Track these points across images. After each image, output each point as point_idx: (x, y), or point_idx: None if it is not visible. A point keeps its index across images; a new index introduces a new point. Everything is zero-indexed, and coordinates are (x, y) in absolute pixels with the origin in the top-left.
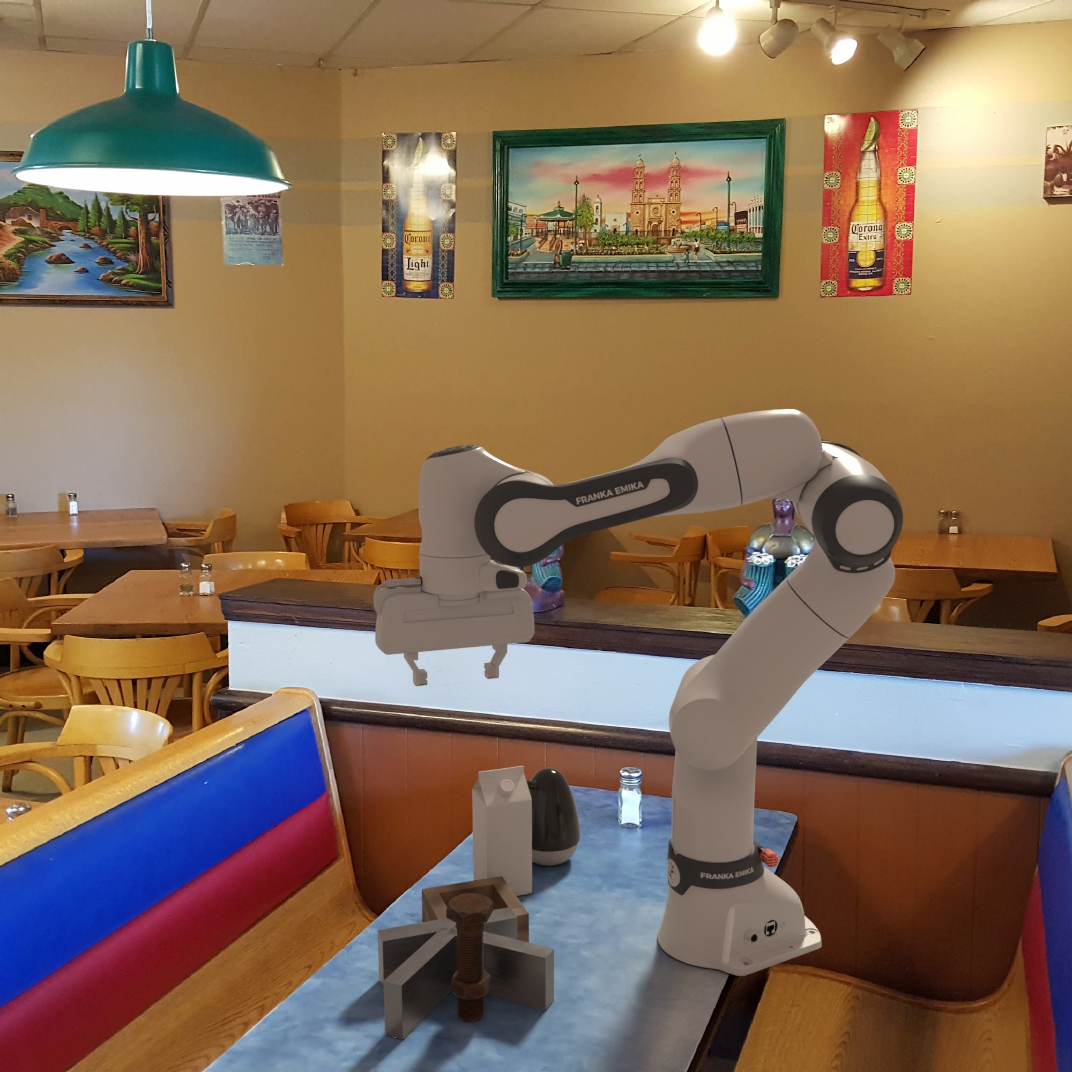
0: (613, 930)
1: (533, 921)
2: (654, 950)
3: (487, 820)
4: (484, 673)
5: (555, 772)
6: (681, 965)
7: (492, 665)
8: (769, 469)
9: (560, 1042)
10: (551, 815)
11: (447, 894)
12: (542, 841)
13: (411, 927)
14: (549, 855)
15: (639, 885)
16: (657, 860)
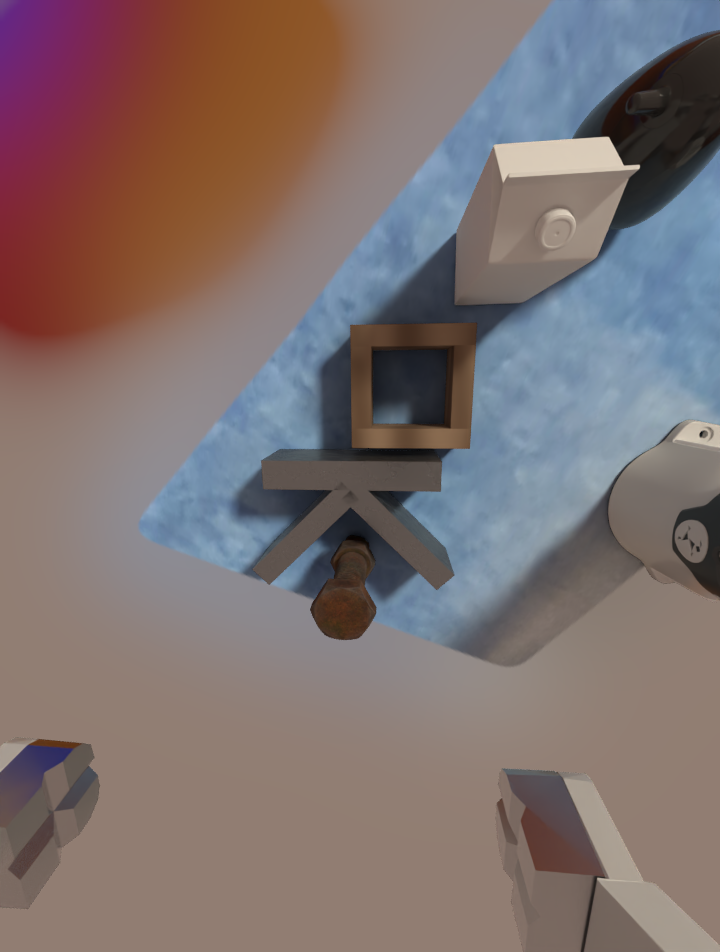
0: (578, 437)
1: (492, 380)
2: (599, 497)
3: (483, 272)
4: (506, 780)
5: None
6: (609, 535)
7: (571, 949)
8: None
9: (423, 609)
10: (642, 189)
11: (384, 346)
12: None
13: (303, 468)
14: None
15: (684, 329)
16: None
